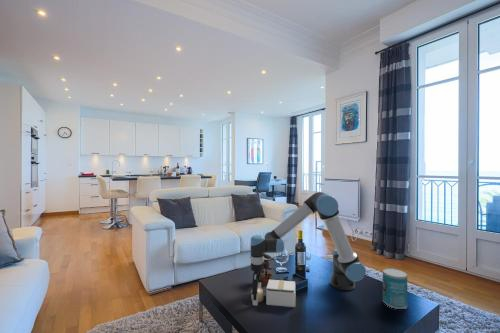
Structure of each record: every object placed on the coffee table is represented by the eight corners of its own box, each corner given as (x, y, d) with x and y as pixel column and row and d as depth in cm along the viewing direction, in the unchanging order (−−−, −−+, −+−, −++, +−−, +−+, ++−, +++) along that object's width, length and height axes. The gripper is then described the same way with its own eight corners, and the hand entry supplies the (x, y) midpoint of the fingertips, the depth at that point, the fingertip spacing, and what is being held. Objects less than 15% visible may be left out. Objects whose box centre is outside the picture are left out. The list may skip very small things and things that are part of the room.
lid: (295, 282, 153) (295, 281, 153) (294, 291, 141) (294, 290, 141) (269, 280, 156) (269, 279, 156) (266, 288, 144) (266, 287, 144)
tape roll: (264, 296, 153) (263, 288, 153) (262, 302, 146) (262, 294, 146) (252, 295, 154) (252, 287, 154) (250, 301, 147) (250, 292, 147)
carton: (295, 296, 153) (295, 283, 153) (295, 307, 141) (295, 293, 141) (268, 294, 156) (268, 281, 156) (266, 304, 144) (266, 290, 144)
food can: (378, 302, 146) (378, 270, 146) (391, 296, 151) (391, 266, 151) (398, 312, 135) (398, 278, 135) (412, 306, 141) (412, 274, 141)
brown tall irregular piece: (274, 279, 176) (274, 251, 174) (272, 288, 165) (272, 258, 163) (253, 277, 179) (252, 249, 177) (249, 285, 168) (249, 256, 166)
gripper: (254, 254, 163) (254, 288, 163) (246, 270, 138) (246, 309, 138) (266, 255, 161) (266, 289, 162) (260, 272, 137) (260, 311, 137)
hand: (257, 298), depth 150 cm, fingers open, 13 cm apart
